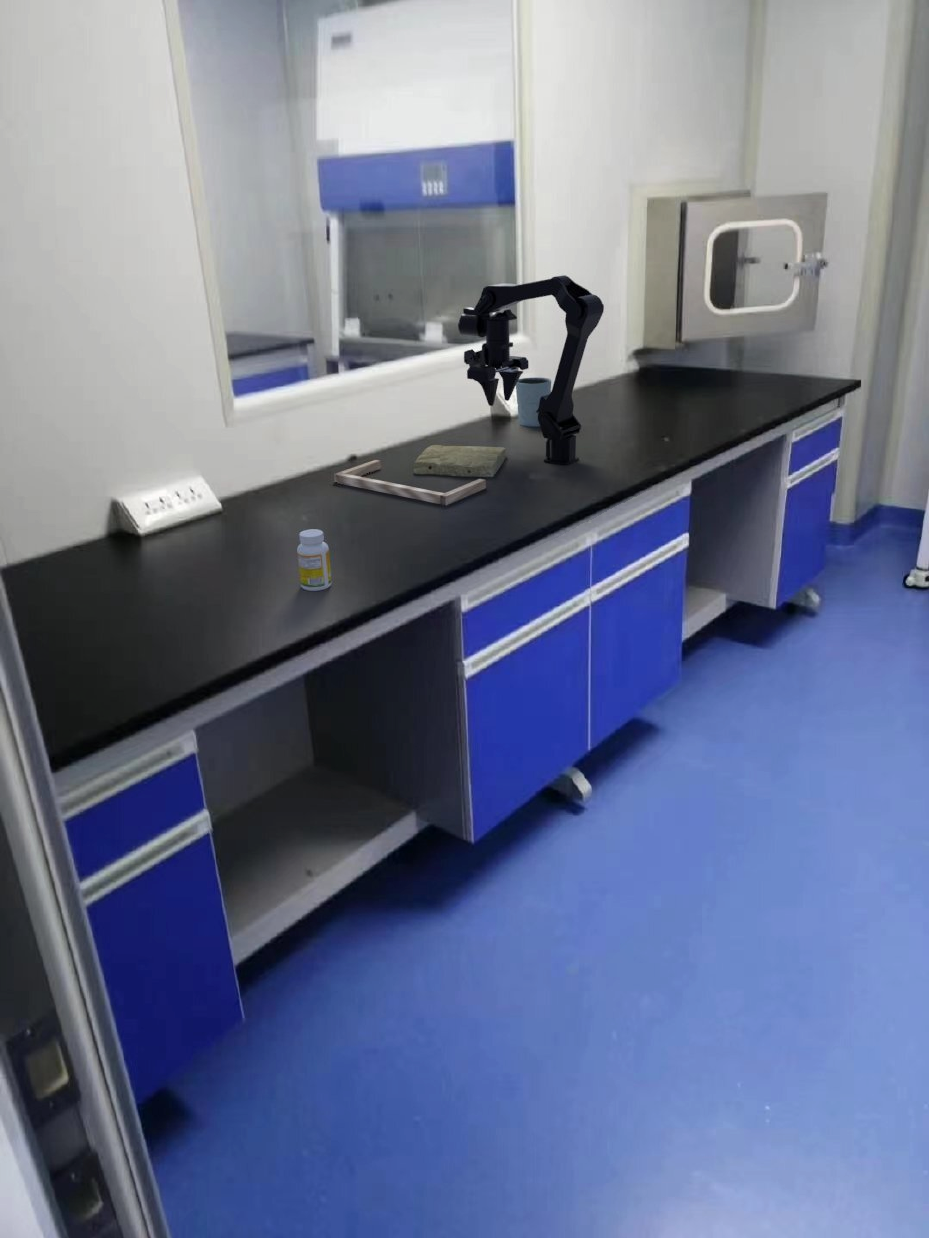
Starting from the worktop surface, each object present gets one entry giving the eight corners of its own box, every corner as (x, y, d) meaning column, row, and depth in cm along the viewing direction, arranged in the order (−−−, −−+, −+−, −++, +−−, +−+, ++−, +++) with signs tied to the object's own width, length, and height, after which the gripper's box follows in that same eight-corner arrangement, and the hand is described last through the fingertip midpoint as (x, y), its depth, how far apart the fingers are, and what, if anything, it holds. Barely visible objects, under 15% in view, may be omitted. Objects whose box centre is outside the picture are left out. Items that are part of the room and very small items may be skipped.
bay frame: (485, 488, 210) (485, 479, 209) (446, 505, 200) (445, 496, 199) (376, 467, 228) (375, 459, 228) (334, 482, 218) (333, 474, 217)
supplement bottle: (315, 594, 158) (309, 540, 154) (294, 587, 161) (288, 534, 157) (338, 584, 162) (333, 531, 158) (317, 577, 165) (312, 525, 161)
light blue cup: (533, 429, 259) (533, 385, 254) (508, 423, 266) (507, 380, 261) (558, 422, 265) (559, 379, 260) (533, 417, 272) (533, 375, 267)
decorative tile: (428, 456, 238) (428, 442, 237) (506, 458, 234) (506, 444, 233) (410, 477, 222) (409, 462, 220) (493, 479, 218) (493, 464, 216)
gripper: (493, 331, 239) (494, 393, 246) (448, 342, 226) (450, 407, 233) (529, 334, 233) (529, 397, 240) (485, 345, 220) (487, 411, 226)
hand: (499, 403), depth 235 cm, fingers open, 7 cm apart
